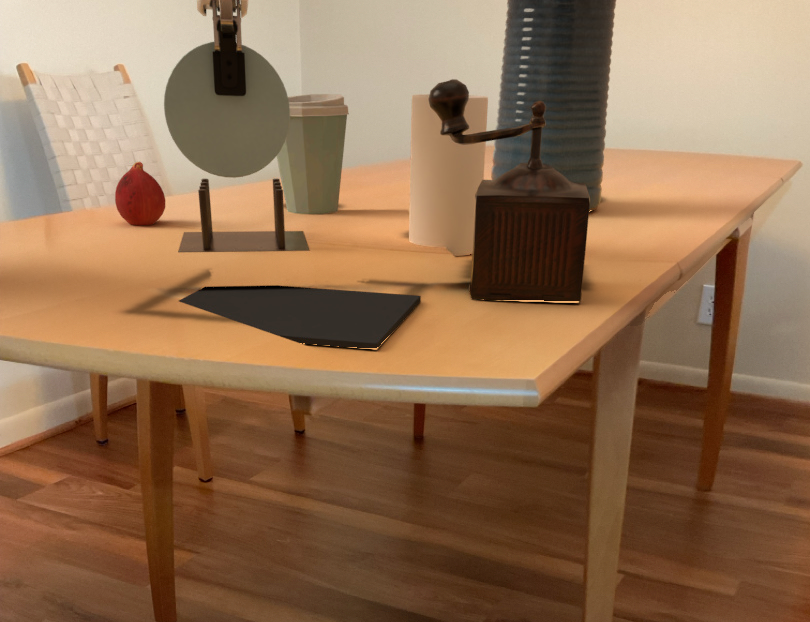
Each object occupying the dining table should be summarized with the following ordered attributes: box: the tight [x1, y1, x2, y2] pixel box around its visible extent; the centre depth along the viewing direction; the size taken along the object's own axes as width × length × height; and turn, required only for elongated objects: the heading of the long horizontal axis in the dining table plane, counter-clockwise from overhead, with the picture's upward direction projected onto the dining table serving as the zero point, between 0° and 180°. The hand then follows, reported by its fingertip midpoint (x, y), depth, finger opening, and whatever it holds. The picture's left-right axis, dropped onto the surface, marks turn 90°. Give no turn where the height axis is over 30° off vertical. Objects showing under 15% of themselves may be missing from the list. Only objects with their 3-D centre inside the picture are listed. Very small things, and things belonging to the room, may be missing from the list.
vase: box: [490, 0, 617, 211], centre depth 128 cm, size 16×16×32 cm
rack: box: [177, 178, 311, 253], centre depth 102 cm, size 12×14×7 cm
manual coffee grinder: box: [428, 78, 590, 302], centre depth 85 cm, size 16×11×18 cm
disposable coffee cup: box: [276, 93, 350, 215], centre depth 120 cm, size 11×11×15 cm
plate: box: [163, 41, 290, 179], centre depth 96 cm, size 1×13×13 cm, turn 99°
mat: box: [178, 284, 422, 348], centre depth 78 cm, size 20×16×1 cm
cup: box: [408, 93, 489, 257], centre depth 102 cm, size 8×8×16 cm
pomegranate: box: [114, 161, 166, 227], centre depth 110 cm, size 6×6×8 cm
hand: (230, 94), depth 96 cm, fingers closed on plate, 1 cm apart
